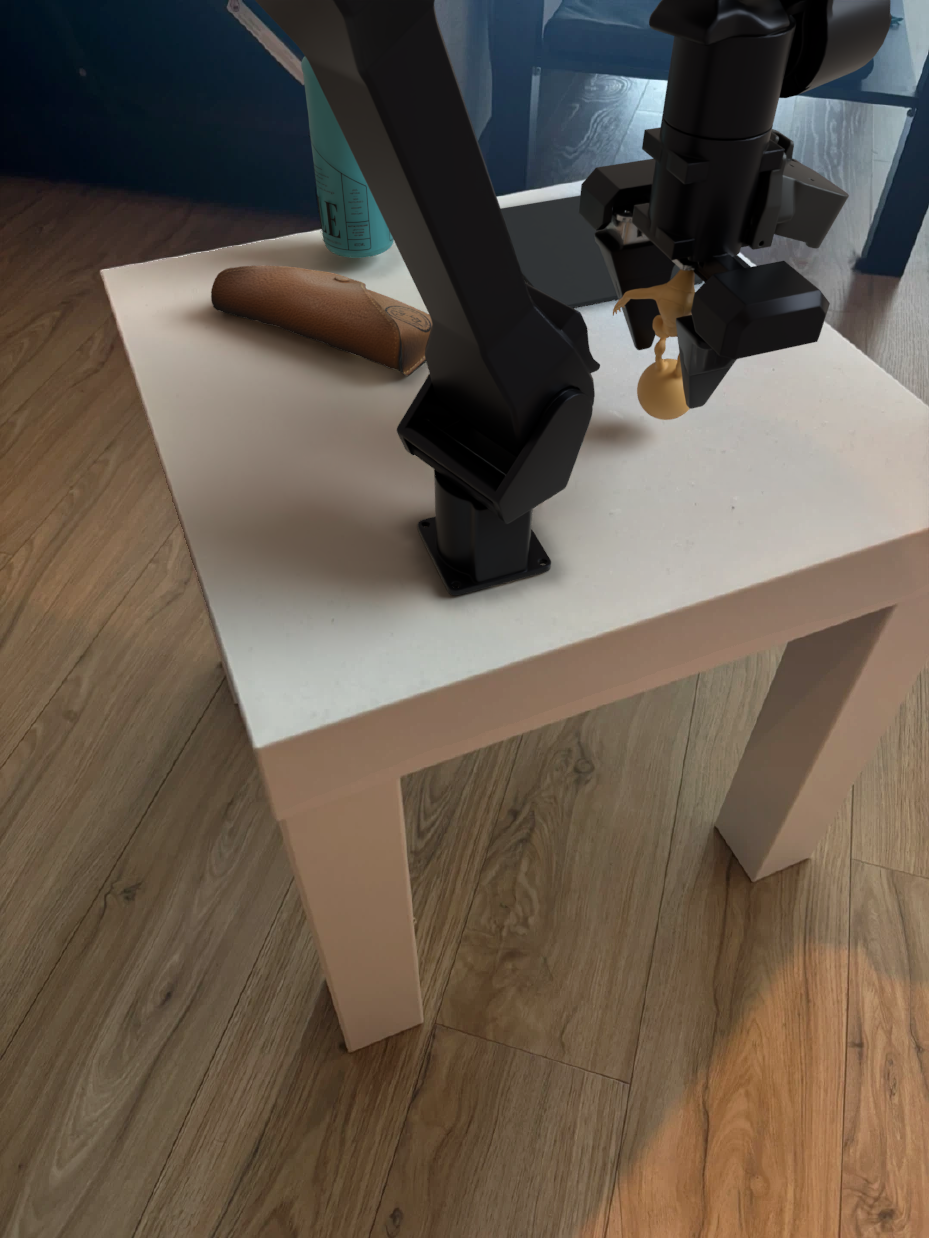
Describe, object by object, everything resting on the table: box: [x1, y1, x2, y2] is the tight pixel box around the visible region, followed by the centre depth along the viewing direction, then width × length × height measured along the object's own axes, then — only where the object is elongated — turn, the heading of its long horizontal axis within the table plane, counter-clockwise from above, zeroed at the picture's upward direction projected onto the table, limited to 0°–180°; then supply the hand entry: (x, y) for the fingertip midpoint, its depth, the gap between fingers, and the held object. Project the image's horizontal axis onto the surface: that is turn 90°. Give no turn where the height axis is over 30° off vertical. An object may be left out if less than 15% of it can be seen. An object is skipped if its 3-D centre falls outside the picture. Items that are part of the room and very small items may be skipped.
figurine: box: [612, 269, 696, 421], centre depth 59 cm, size 8×6×12 cm
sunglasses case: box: [210, 264, 432, 377], centre depth 73 cm, size 18×7×7 cm, turn 60°
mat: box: [500, 195, 704, 309], centre depth 83 cm, size 18×14×1 cm
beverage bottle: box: [300, 55, 395, 259], centre depth 74 cm, size 6×7×20 cm
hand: (668, 376), depth 61 cm, fingers closed on figurine, 7 cm apart
